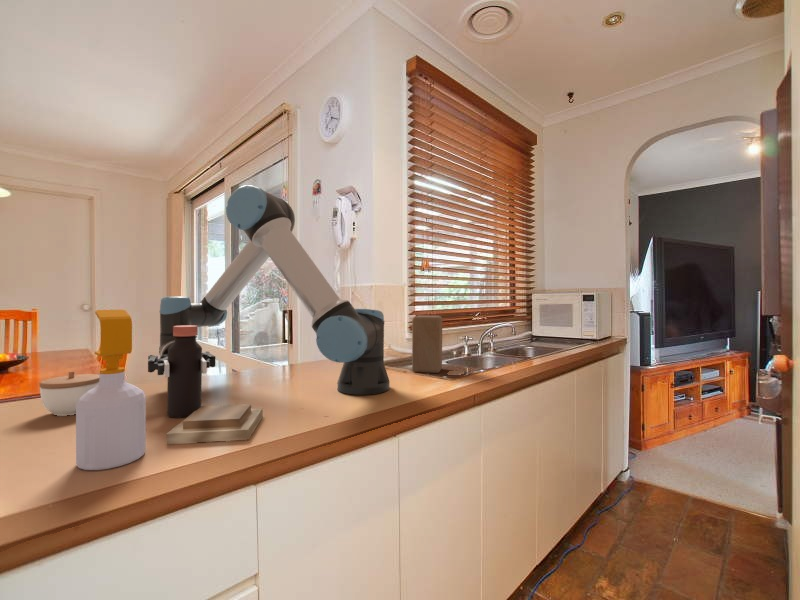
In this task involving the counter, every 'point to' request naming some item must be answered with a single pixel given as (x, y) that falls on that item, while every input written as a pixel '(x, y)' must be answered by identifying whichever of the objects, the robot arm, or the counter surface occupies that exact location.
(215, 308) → the robot arm
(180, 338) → the vinegar
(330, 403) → the counter surface
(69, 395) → the lidded jar
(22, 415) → the counter surface
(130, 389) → the soap bottle
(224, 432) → the base
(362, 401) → the counter surface
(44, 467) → the counter surface
